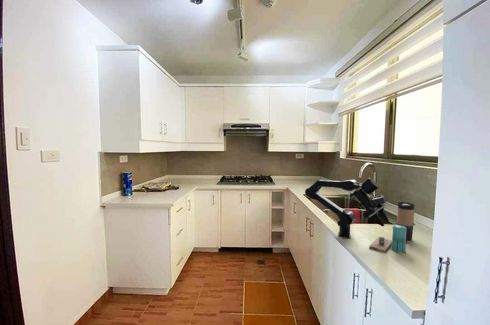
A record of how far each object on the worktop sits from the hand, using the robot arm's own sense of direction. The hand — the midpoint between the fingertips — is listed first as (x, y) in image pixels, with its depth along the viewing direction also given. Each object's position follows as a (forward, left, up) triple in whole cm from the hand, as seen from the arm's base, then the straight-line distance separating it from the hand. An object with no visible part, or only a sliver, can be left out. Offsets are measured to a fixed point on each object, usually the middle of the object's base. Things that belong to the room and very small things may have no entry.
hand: (386, 223), depth 119 cm
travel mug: (-16, +12, -12) cm, 23 cm away
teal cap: (+2, +5, -12) cm, 13 cm away
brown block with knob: (-1, -2, -12) cm, 12 cm away
